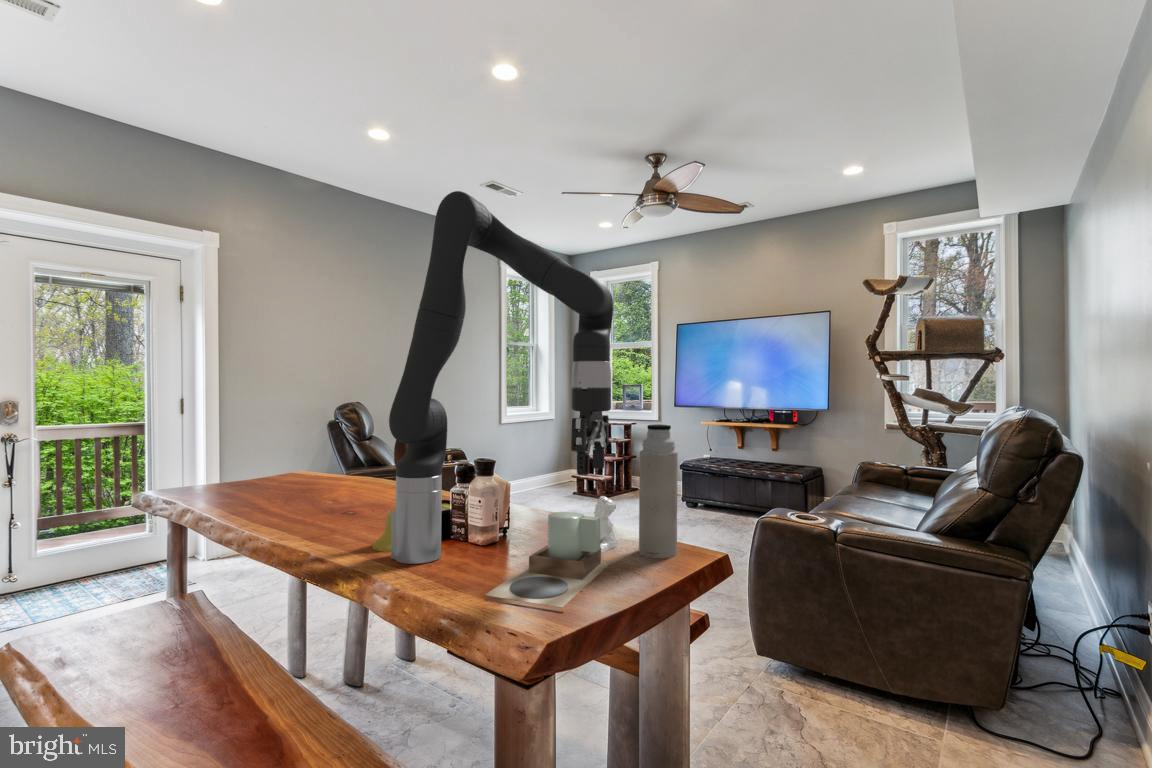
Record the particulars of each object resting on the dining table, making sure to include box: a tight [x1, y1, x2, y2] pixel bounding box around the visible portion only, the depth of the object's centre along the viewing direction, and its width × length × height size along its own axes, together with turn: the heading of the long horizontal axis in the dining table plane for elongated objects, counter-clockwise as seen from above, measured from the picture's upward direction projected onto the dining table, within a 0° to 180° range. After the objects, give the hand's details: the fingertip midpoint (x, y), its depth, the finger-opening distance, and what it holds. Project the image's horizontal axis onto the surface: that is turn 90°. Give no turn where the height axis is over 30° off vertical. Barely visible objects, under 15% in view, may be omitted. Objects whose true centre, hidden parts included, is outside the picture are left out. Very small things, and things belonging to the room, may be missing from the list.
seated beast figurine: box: [593, 495, 620, 554], centre depth 124 cm, size 10×9×12 cm
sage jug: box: [547, 511, 600, 561], centre depth 108 cm, size 10×7×10 cm
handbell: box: [372, 439, 408, 553], centre depth 128 cm, size 12×12×25 cm
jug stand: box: [483, 544, 610, 615], centre depth 103 cm, size 14×24×4 cm, turn 159°
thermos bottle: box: [638, 423, 679, 559], centre depth 120 cm, size 8×8×28 cm
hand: (591, 471), depth 107 cm, fingers open, 8 cm apart
